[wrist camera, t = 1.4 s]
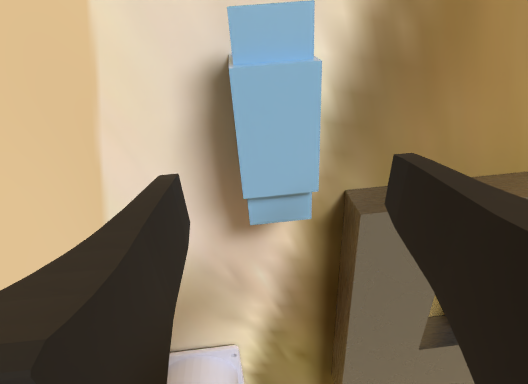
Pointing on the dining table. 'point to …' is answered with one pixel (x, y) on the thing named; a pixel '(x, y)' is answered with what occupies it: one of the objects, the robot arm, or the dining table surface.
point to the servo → (276, 107)
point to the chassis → (392, 301)
